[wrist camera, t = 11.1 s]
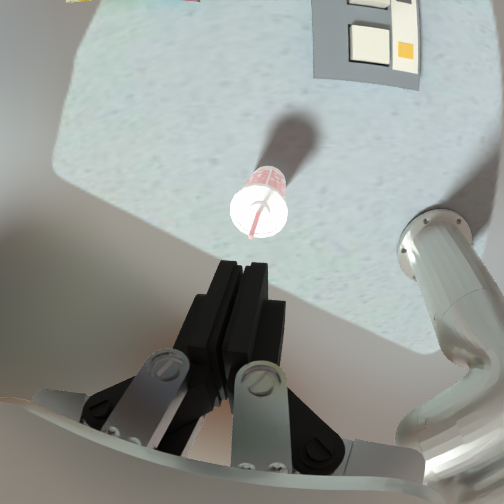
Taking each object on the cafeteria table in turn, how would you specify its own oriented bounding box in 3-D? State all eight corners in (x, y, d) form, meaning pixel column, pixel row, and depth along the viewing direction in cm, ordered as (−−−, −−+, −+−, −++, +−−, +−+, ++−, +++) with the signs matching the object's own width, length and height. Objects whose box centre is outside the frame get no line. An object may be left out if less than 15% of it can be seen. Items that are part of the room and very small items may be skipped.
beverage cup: (240, 195, 41) (212, 253, 30) (251, 154, 38) (225, 197, 26) (283, 209, 41) (273, 272, 30) (298, 168, 38) (293, 219, 26)
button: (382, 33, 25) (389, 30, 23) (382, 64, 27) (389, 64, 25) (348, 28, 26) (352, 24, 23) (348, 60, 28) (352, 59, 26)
